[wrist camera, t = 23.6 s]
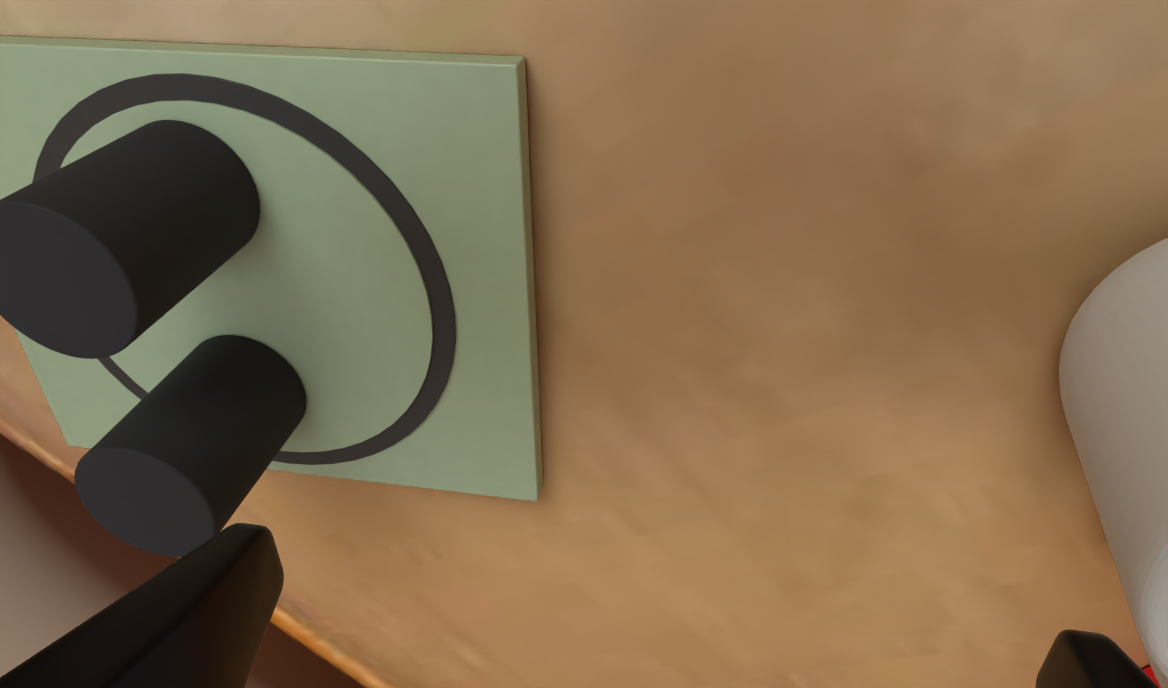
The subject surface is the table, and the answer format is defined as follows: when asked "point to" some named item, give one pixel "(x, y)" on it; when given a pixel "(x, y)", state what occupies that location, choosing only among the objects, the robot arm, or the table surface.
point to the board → (325, 245)
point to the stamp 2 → (192, 446)
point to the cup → (1127, 430)
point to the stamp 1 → (122, 237)
